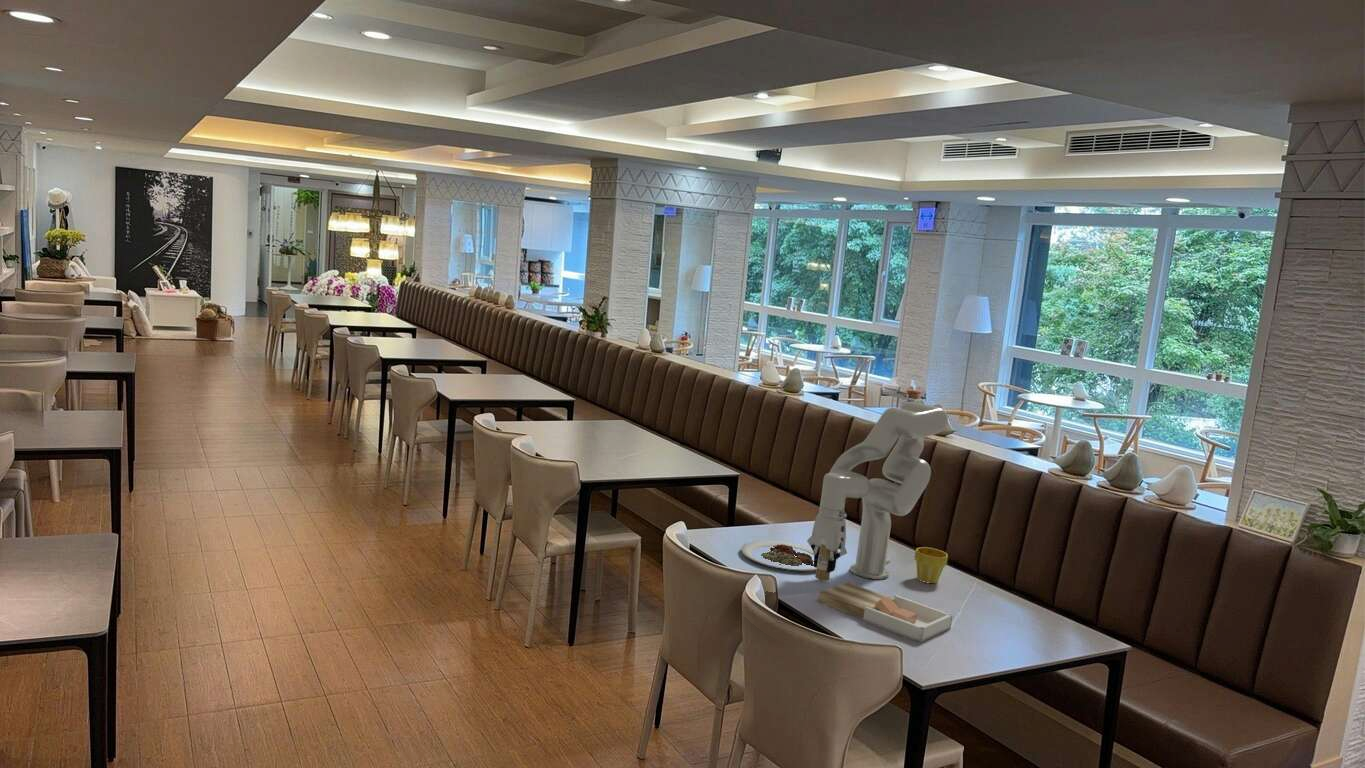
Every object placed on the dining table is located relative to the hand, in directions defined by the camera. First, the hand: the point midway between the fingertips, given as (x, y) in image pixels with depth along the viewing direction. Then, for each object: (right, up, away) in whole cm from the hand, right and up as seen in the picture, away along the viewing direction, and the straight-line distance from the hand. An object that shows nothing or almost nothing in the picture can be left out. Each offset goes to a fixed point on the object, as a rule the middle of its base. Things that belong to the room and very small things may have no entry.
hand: (823, 568), depth 297 cm
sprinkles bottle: (-1, -3, 0) cm, 4 cm away
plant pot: (+36, -7, +13) cm, 39 cm away
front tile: (+19, -7, -29) cm, 35 cm away
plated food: (-10, -1, +20) cm, 22 cm away
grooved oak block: (+7, -7, -18) cm, 21 cm away
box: (+19, -10, -29) cm, 36 cm away
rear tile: (+14, -7, -25) cm, 29 cm away
